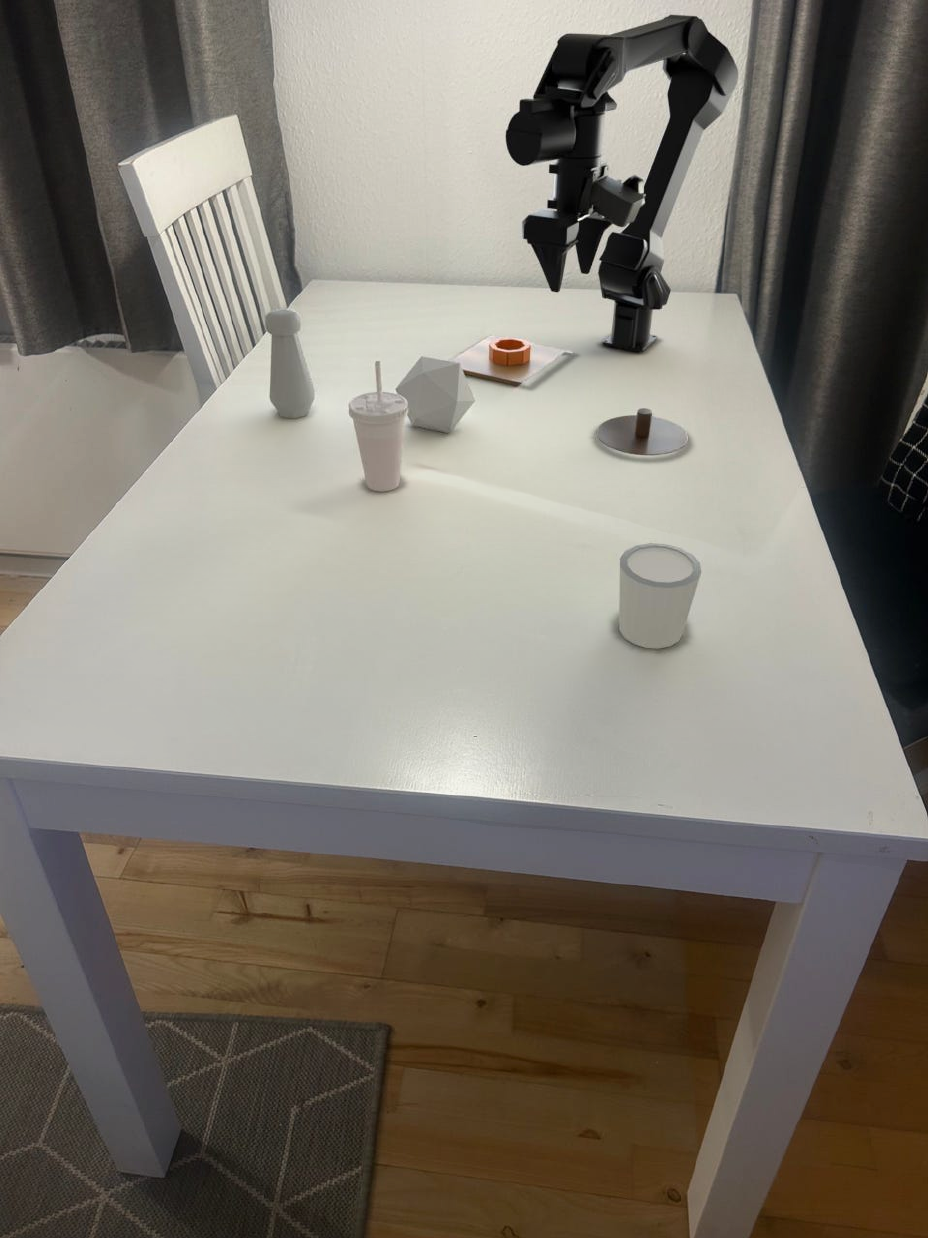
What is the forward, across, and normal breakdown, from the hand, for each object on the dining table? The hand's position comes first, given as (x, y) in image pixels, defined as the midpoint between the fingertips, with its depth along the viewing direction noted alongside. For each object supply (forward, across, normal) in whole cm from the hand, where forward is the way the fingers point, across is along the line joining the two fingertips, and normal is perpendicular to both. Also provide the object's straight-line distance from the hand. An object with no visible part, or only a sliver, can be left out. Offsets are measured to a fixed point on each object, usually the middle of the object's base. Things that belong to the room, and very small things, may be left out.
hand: (570, 282), depth 123 cm
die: (+12, -25, +6) cm, 28 cm away
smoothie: (+12, -41, +3) cm, 43 cm away
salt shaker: (+12, -31, +24) cm, 41 cm away
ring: (+11, -2, +8) cm, 14 cm away
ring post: (+12, -16, -18) cm, 27 cm away
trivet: (+12, -2, +8) cm, 15 cm away
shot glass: (+12, -51, -33) cm, 62 cm away
